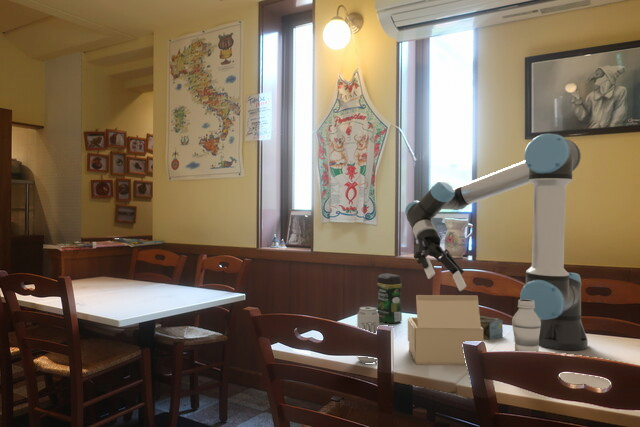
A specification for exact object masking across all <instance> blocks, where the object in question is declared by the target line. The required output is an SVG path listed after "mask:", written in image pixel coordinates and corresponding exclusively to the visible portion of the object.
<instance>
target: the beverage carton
mask: <svg viewBox="0 0 640 427" xmlns="http://www.w3.org/2000/svg"><path fill="white" fill-rule="evenodd" d="M480 324H481V327H482V328H483V340H484V339H485V340H490V341H492V340H495V339H498V338H502V337H503V334H504V333H503V331H504V330H503V328H504V327H503V319H500V318H497V317H496V318H495V317H490V316H484V315H480Z"/></svg>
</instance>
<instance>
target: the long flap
mask: <svg viewBox="0 0 640 427" xmlns="http://www.w3.org/2000/svg"><path fill="white" fill-rule="evenodd" d="M415 298H416V299H415V300H416V301H415V302H416V318H417V322H418V328H472V329H481V324H480V305H479V297H478V295H469V294H468V295H467V294H466V295H463V294H462V295H461V294H460V295H459V294H458V295H453V294H450V295H449V294H448V295H447V294H434V295H433V294H431V295H429V294H425V295H424V294H416V295H415Z"/></svg>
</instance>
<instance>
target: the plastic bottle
mask: <svg viewBox="0 0 640 427" xmlns="http://www.w3.org/2000/svg"><path fill="white" fill-rule="evenodd" d="M517 308H518V310H517V311H516V312H515V314H514V315H513V317H512V319H511V324H512V331H513V338H514V352H515V351H536V352H539V353H540V351H539V349H540V348H539V346H540V345H539V335H540V327H541V322H540V319H539V317H538V316H537V314H536V313H535V312H534V309H535V301H534V300H530V299H518V300H517Z"/></svg>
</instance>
